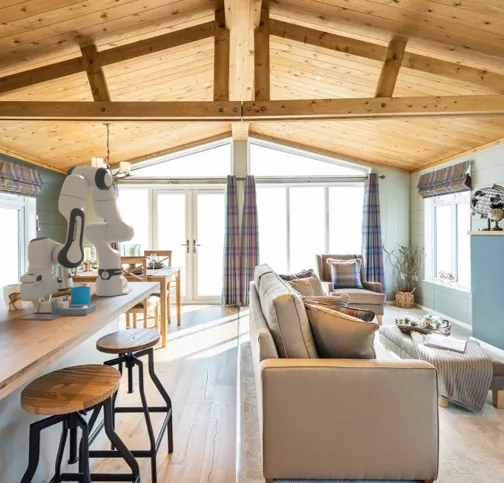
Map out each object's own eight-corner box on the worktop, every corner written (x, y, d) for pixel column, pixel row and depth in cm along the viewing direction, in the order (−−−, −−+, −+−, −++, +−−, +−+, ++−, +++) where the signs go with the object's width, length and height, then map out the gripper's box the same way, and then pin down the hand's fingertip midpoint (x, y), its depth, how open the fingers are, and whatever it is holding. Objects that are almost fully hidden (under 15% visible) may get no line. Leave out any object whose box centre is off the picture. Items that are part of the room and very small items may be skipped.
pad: (31, 315, 146) (31, 313, 146) (62, 315, 145) (62, 314, 145) (19, 319, 139) (19, 318, 139) (52, 320, 138) (51, 318, 138)
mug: (86, 307, 161) (86, 289, 161) (68, 307, 161) (67, 289, 161) (96, 301, 173) (96, 284, 173) (79, 301, 173) (78, 285, 172)
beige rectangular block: (33, 312, 149) (33, 302, 149) (39, 310, 154) (39, 300, 153) (63, 312, 149) (63, 302, 149) (69, 310, 153) (69, 300, 153)
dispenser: (50, 315, 146) (50, 300, 146) (65, 309, 156) (65, 295, 156) (85, 315, 145) (84, 300, 145) (97, 309, 156) (97, 295, 155)
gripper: (48, 272, 161) (49, 302, 162) (16, 278, 141) (17, 313, 141) (61, 272, 161) (62, 302, 162) (32, 278, 141) (33, 313, 141)
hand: (41, 307), depth 151 cm, fingers closed on beige rectangular block, 4 cm apart
